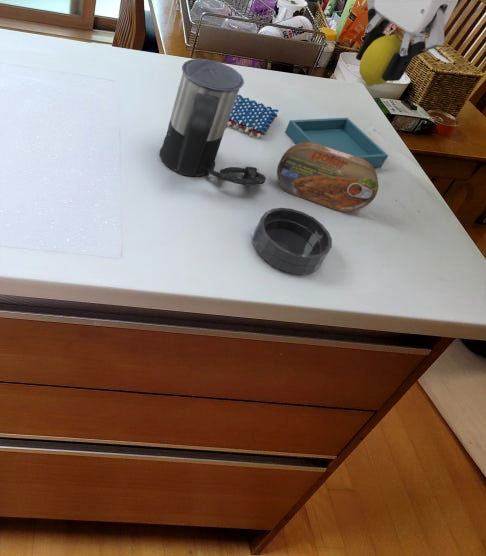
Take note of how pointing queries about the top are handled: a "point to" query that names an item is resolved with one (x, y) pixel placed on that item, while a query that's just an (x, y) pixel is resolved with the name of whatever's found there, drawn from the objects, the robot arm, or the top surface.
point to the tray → (337, 138)
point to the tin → (327, 177)
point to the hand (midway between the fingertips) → (377, 68)
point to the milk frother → (204, 121)
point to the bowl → (291, 240)
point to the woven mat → (251, 116)
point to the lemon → (378, 59)
